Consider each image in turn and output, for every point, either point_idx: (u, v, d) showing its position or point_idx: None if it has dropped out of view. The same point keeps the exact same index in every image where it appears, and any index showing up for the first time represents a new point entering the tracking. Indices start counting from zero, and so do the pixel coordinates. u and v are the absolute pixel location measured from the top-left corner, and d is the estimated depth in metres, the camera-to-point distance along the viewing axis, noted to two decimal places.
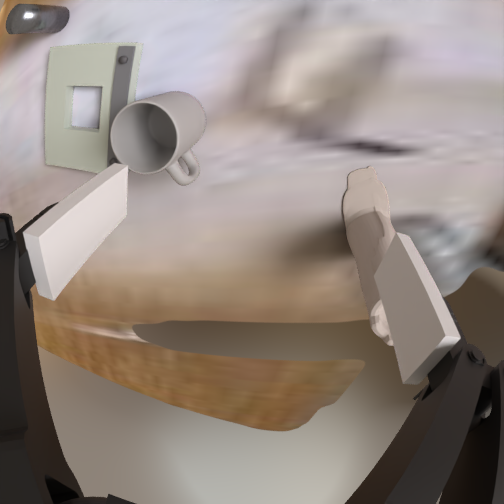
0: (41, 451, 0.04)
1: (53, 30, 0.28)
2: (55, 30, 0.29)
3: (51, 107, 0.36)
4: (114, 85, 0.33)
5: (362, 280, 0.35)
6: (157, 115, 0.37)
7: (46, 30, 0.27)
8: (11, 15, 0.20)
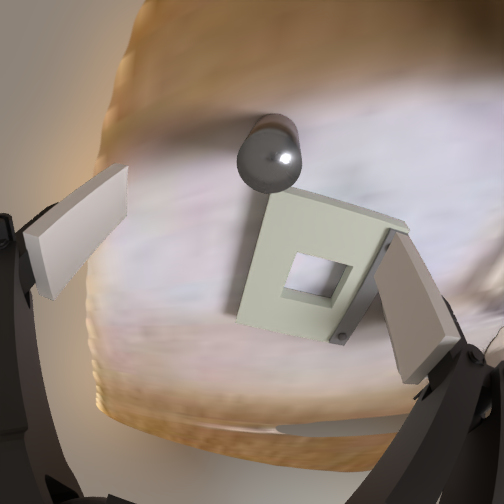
0: (42, 451, 0.04)
1: None
2: None
3: (263, 270, 0.36)
4: (372, 271, 0.34)
5: None
6: None
7: None
8: (254, 147, 0.20)
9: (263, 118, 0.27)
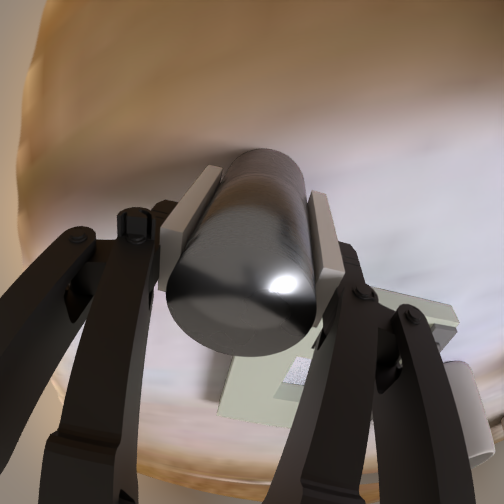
0: (123, 464, 0.04)
1: None
2: None
3: (248, 373, 0.24)
4: None
5: None
6: None
7: None
8: (200, 279, 0.09)
9: (241, 162, 0.15)
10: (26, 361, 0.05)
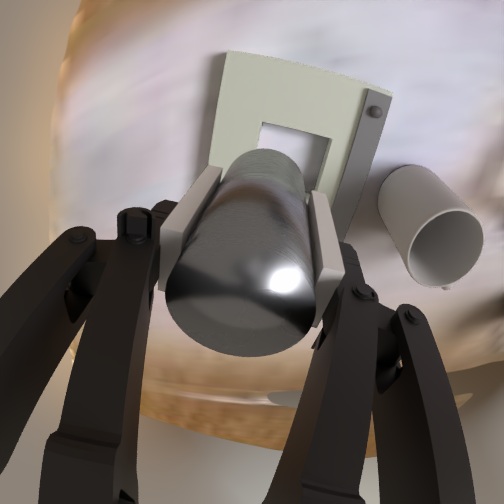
0: (123, 465, 0.04)
1: None
2: None
3: (225, 149, 0.29)
4: (356, 144, 0.27)
5: None
6: None
7: None
8: (200, 278, 0.09)
9: (240, 161, 0.15)
10: (26, 361, 0.05)
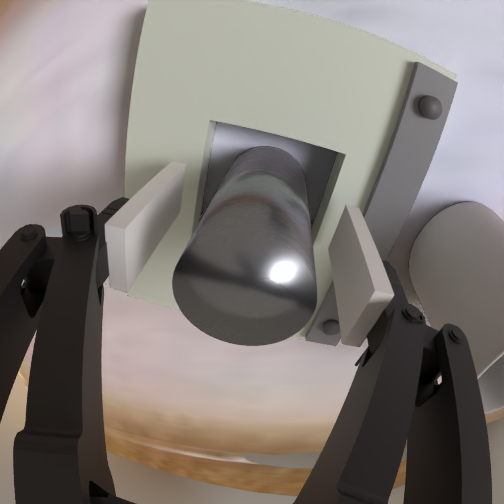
0: (90, 456, 0.04)
1: None
2: None
3: (148, 173, 0.16)
4: (390, 166, 0.14)
5: None
6: None
7: None
8: (206, 267, 0.09)
9: (243, 158, 0.15)
10: None
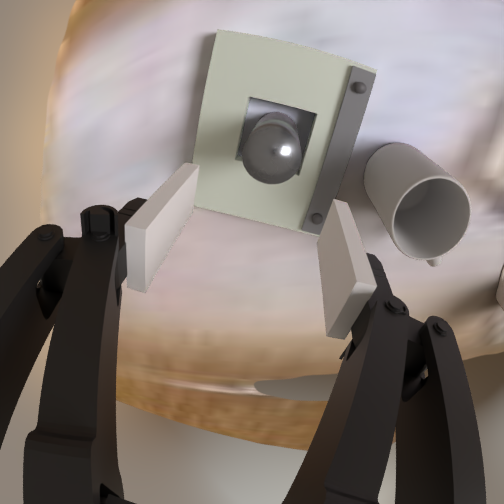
0: (102, 459, 0.04)
1: None
2: None
3: (212, 123, 0.29)
4: (340, 118, 0.27)
5: None
6: None
7: None
8: (257, 142, 0.22)
9: (265, 116, 0.29)
10: (4, 358, 0.05)
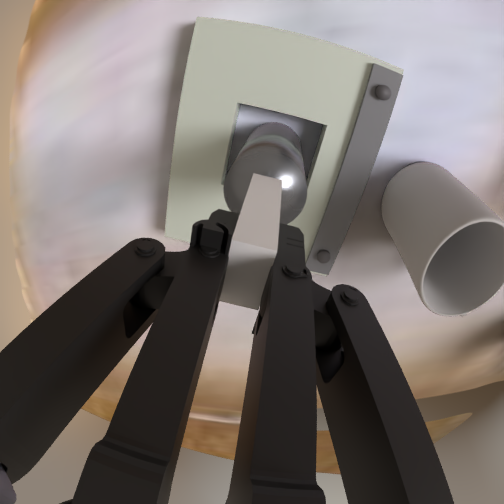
0: (166, 481, 0.04)
1: None
2: None
3: (192, 138, 0.23)
4: (357, 132, 0.21)
5: None
6: None
7: None
8: (245, 172, 0.16)
9: (259, 128, 0.22)
10: (72, 375, 0.06)
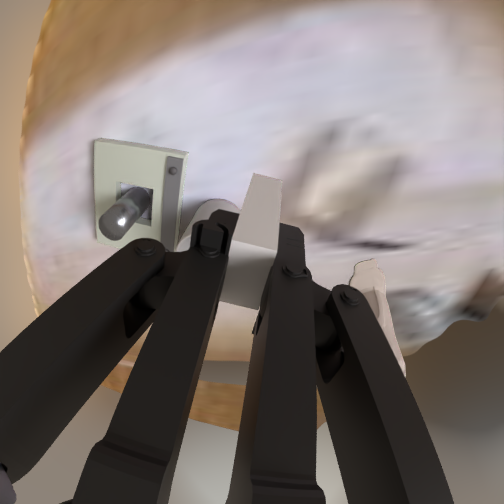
0: (166, 480, 0.04)
1: None
2: None
3: (101, 197, 0.48)
4: (165, 191, 0.46)
5: None
6: None
7: None
8: (103, 220, 0.41)
9: None
10: (73, 375, 0.06)
